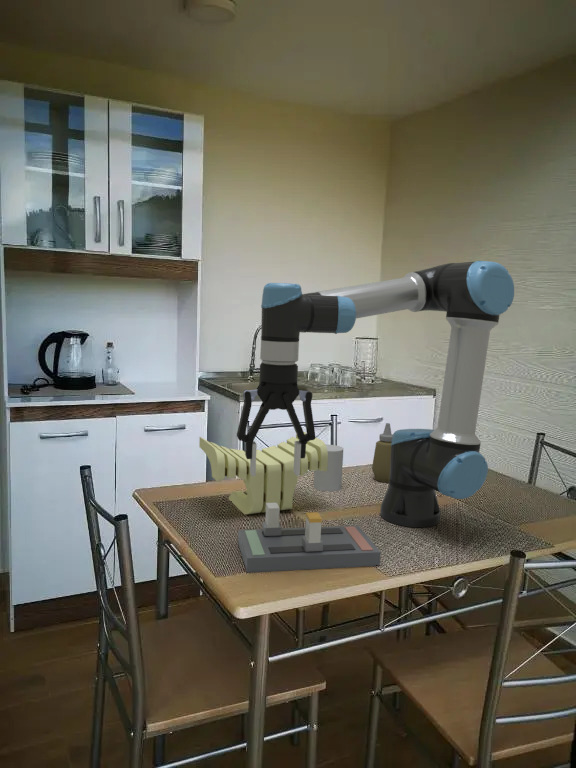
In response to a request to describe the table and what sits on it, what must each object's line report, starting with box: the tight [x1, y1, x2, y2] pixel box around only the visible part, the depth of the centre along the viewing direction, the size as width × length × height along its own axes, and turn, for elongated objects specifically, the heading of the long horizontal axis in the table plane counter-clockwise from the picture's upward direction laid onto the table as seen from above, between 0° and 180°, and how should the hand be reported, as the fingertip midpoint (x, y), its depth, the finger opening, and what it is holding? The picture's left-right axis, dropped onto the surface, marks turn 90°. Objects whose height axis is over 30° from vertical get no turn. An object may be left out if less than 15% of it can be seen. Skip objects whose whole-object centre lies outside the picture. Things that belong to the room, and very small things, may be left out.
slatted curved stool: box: [198, 430, 328, 515], centre depth 158 cm, size 30×16×18 cm, turn 114°
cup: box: [313, 444, 344, 493], centre depth 177 cm, size 8×8×12 cm
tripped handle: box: [302, 511, 323, 552], centre depth 124 cm, size 4×4×7 cm
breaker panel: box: [237, 503, 382, 573], centre depth 129 cm, size 28×15×10 cm, turn 101°
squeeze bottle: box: [371, 422, 393, 483], centre depth 186 cm, size 8×8×18 cm
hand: (274, 473), depth 121 cm, fingers open, 8 cm apart
